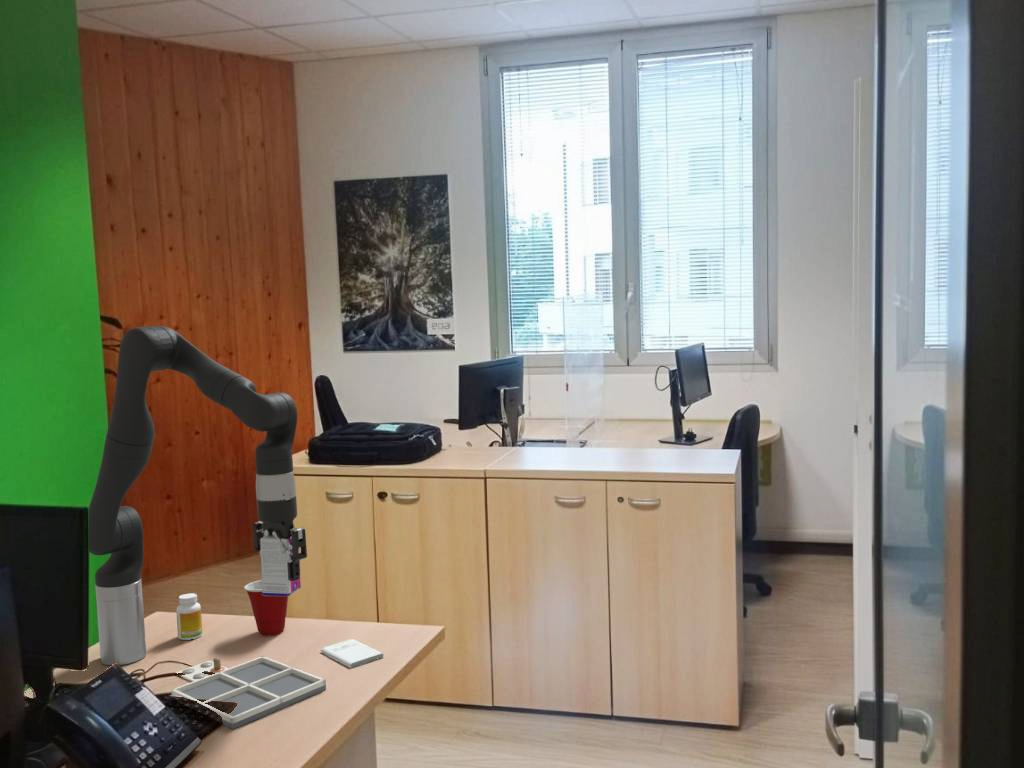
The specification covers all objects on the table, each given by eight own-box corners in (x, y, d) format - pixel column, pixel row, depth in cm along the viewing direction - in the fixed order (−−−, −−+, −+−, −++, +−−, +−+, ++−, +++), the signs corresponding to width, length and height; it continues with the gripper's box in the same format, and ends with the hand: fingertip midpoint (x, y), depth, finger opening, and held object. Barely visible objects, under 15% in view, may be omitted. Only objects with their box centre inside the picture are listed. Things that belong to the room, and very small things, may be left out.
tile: (175, 674, 189) (174, 661, 189) (209, 662, 195) (209, 649, 195) (196, 683, 184) (195, 670, 184) (230, 670, 190) (229, 658, 190)
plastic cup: (270, 621, 220) (268, 572, 219) (304, 627, 215) (301, 578, 214) (236, 635, 211) (233, 585, 210) (270, 643, 205) (267, 591, 204)
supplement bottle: (207, 635, 212) (204, 594, 211) (186, 642, 207) (183, 601, 207) (194, 630, 215) (191, 590, 214) (173, 637, 211) (170, 597, 210)
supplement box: (290, 596, 176) (286, 538, 175) (261, 596, 177) (258, 538, 176) (302, 587, 181) (299, 531, 181) (275, 587, 183) (271, 531, 182)
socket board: (171, 699, 177) (171, 689, 176) (263, 665, 192) (263, 655, 192) (232, 729, 163) (232, 718, 163) (326, 689, 179) (325, 679, 179)
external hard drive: (350, 671, 189) (321, 654, 199) (383, 660, 195) (353, 644, 204) (350, 663, 189) (320, 647, 199) (383, 652, 195) (353, 637, 204)
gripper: (238, 495, 179) (244, 576, 180) (282, 502, 170) (288, 587, 171) (270, 488, 185) (275, 567, 186) (314, 495, 176) (319, 577, 177)
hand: (281, 576), depth 179 cm, fingers closed on supplement box, 7 cm apart
